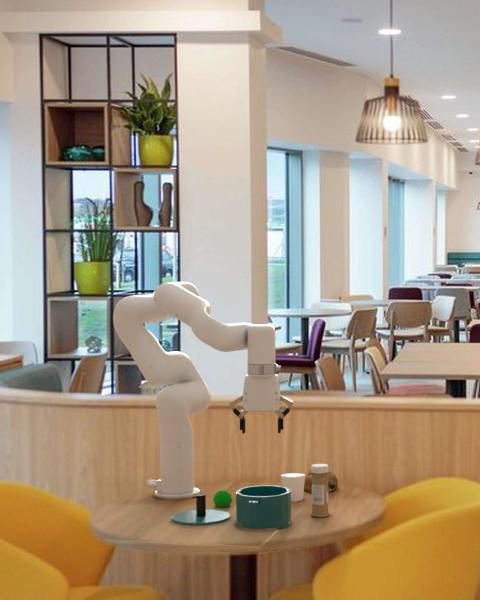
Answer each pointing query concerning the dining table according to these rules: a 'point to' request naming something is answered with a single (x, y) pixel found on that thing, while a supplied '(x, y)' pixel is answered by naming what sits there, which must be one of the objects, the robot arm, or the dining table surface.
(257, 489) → the pot
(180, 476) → the robot arm
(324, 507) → the spice jar
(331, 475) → the bread roll
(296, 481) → the white cup
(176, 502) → the dining table surface
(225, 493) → the polyhedron
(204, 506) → the lid
